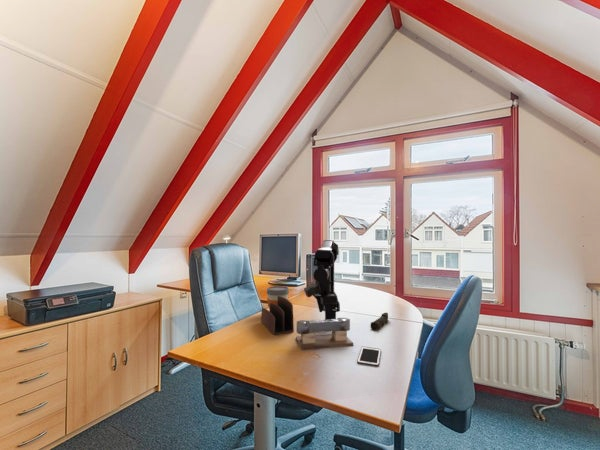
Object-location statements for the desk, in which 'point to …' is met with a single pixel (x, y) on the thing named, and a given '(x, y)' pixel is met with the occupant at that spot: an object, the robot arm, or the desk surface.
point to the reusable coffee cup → (276, 294)
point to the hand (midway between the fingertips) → (323, 314)
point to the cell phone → (369, 356)
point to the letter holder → (278, 317)
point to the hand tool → (379, 321)
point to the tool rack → (323, 340)
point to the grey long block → (323, 325)
